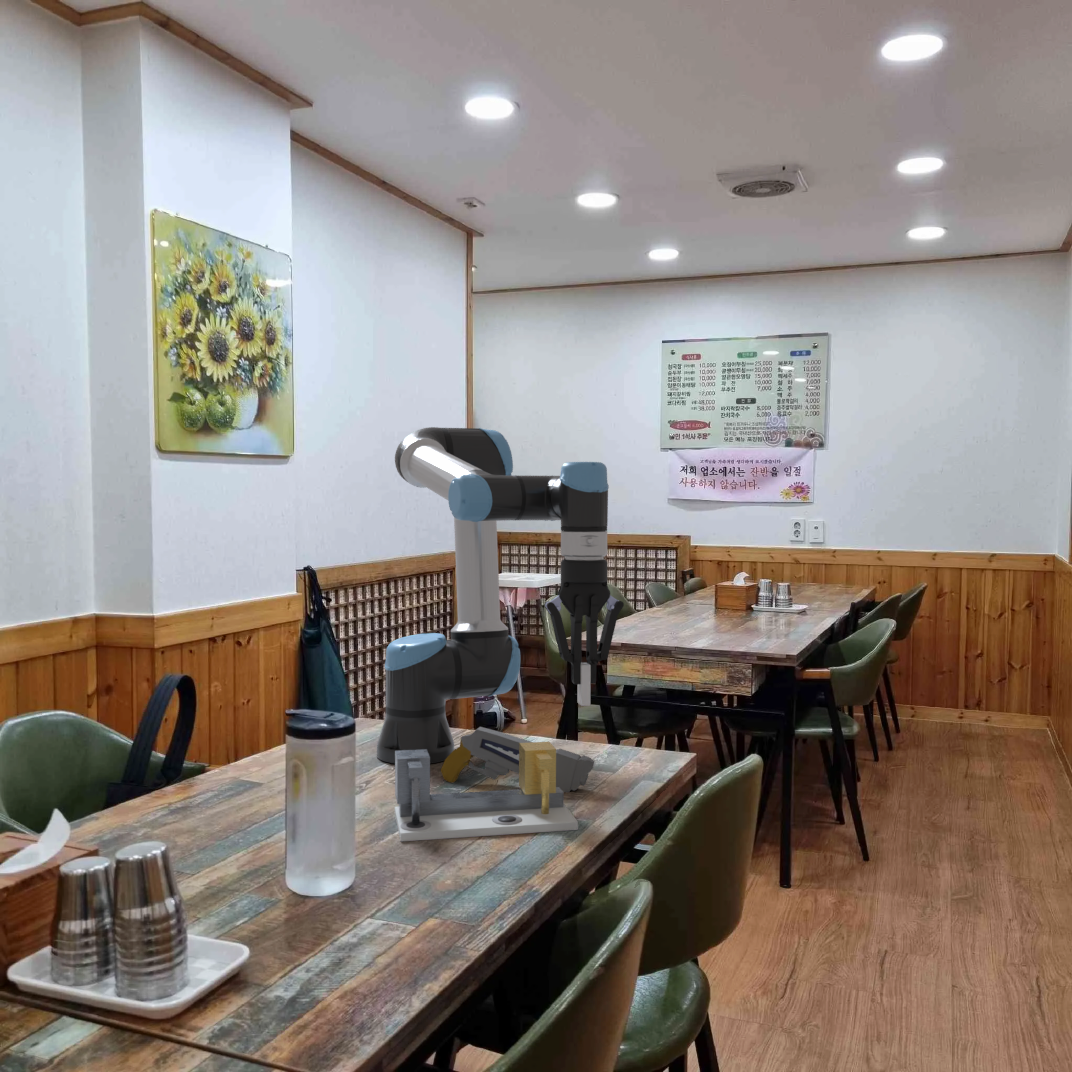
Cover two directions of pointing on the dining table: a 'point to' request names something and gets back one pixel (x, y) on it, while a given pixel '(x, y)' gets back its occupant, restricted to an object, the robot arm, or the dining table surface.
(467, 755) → the gun
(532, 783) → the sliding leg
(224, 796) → the dining table surface
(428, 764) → the grey sliding rail fixture
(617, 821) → the dining table surface
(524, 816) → the bolt plate
